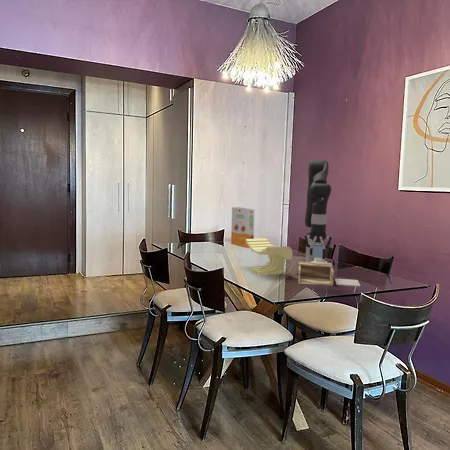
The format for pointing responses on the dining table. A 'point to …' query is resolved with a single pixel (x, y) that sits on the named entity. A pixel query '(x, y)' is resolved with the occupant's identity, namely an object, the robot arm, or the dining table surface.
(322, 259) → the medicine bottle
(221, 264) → the dining table surface
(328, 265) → the cubby
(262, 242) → the slatted curved stool
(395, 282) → the dining table surface
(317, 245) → the block
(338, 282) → the mat
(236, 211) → the cereal box
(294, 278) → the dining table surface
